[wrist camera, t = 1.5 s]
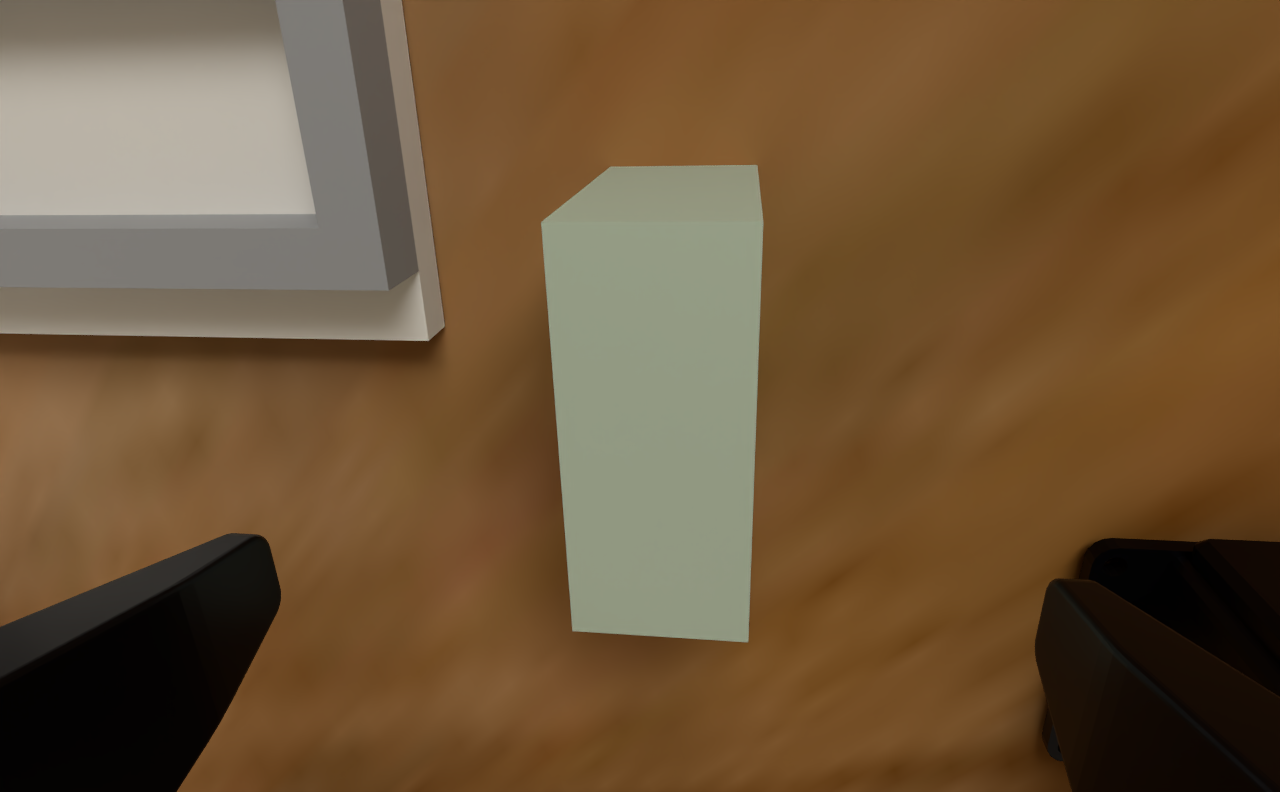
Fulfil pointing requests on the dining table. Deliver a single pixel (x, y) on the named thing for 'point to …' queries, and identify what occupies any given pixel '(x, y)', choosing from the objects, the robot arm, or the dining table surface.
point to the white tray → (212, 171)
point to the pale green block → (657, 396)
